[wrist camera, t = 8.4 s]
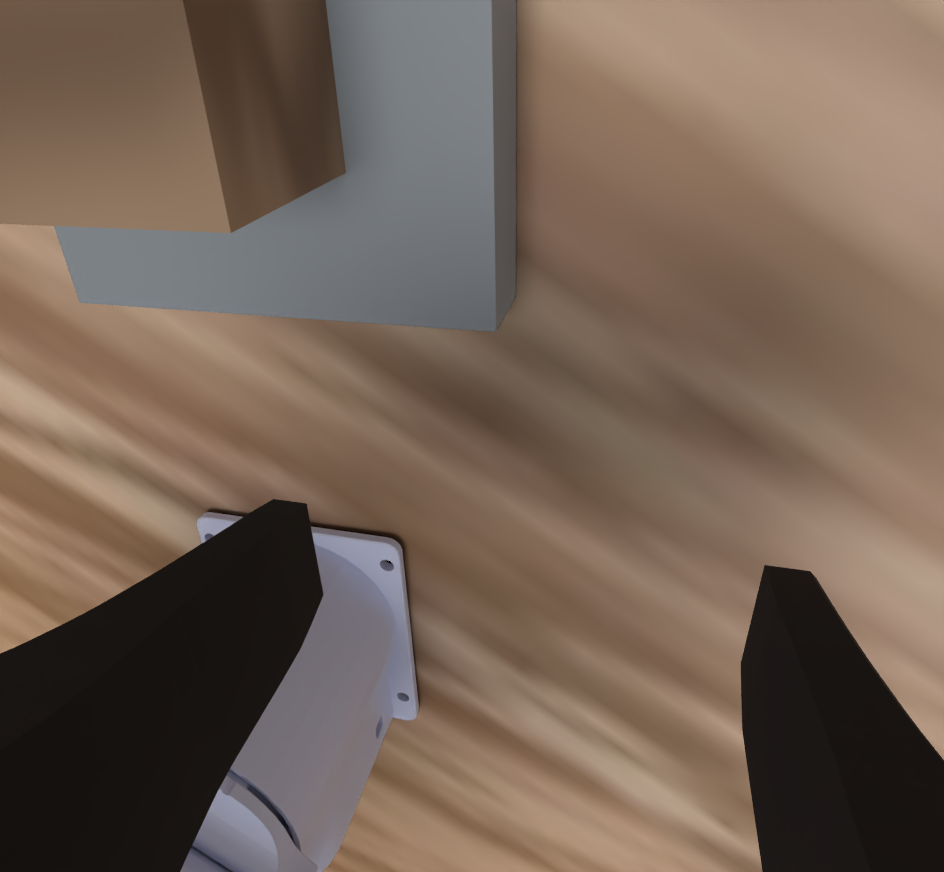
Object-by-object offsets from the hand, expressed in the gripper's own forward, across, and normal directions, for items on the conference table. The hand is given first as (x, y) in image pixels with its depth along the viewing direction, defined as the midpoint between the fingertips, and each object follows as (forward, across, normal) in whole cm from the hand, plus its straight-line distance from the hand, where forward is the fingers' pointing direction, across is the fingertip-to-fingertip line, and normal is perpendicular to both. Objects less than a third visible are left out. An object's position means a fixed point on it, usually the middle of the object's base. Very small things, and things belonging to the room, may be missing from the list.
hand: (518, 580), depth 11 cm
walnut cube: (+7, +8, -7) cm, 13 cm away
